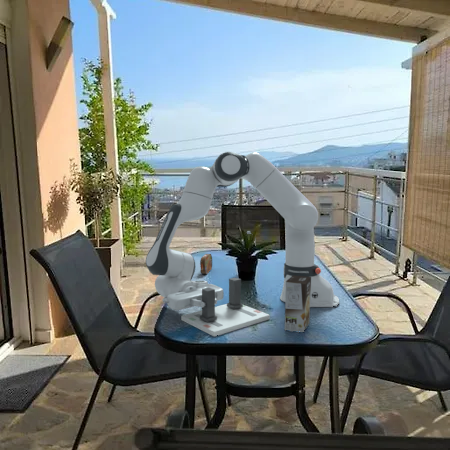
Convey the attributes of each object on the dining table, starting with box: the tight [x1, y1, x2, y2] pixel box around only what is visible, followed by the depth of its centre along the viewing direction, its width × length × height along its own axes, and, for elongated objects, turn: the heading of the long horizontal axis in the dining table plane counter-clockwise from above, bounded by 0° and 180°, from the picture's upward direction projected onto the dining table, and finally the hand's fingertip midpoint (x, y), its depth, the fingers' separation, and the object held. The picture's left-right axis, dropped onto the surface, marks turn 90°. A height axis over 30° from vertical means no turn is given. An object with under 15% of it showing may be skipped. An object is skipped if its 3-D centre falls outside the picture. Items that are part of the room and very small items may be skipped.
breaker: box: [226, 277, 244, 309], centre depth 152 cm, size 4×4×10 cm
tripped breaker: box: [200, 288, 217, 323], centre depth 139 cm, size 4×4×10 cm
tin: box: [199, 253, 213, 275], centre depth 209 cm, size 15×3×8 cm, turn 168°
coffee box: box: [284, 275, 311, 333], centre depth 138 cm, size 9×6×16 cm
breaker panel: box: [180, 303, 271, 338], centre depth 145 cm, size 18×24×2 cm
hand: (210, 303), depth 139 cm, fingers closed on tripped breaker, 3 cm apart
